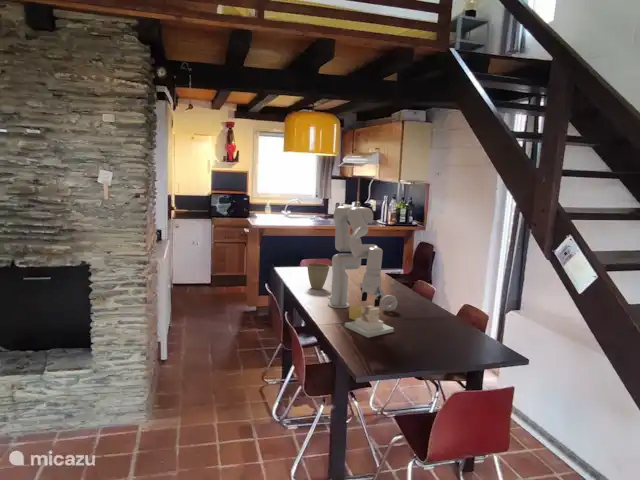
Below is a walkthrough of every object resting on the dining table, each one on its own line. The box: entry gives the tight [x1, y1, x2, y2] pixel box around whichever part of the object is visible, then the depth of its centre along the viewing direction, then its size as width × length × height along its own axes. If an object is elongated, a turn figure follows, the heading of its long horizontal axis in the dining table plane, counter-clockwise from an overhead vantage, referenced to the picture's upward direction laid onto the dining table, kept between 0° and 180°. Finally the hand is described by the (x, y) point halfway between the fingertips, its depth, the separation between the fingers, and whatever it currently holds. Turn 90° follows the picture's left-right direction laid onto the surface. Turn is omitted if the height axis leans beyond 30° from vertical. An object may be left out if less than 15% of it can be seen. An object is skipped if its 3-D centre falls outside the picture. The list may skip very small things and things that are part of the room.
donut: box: [380, 294, 398, 312], centre depth 284 cm, size 10×4×10 cm, turn 98°
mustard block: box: [348, 304, 363, 321], centre depth 267 cm, size 6×6×6 cm
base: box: [344, 318, 395, 338], centre depth 251 cm, size 18×18×5 cm
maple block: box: [361, 304, 380, 323], centre depth 251 cm, size 6×6×6 cm
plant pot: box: [307, 262, 330, 290], centre depth 326 cm, size 15×15×16 cm
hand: (370, 303), depth 250 cm, fingers open, 9 cm apart
